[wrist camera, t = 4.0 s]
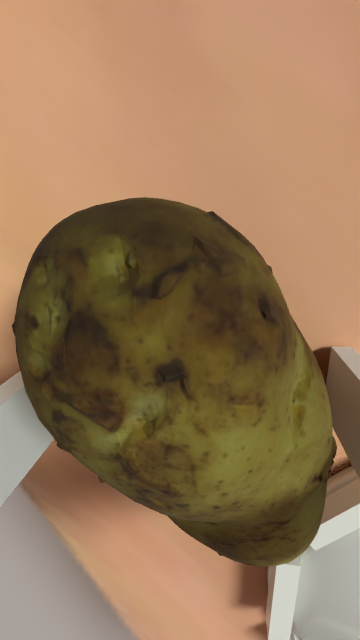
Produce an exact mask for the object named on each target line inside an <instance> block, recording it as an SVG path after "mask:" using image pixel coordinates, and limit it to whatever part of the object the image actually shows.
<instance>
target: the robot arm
mask: <svg viewBox="0 0 360 640" xmlns="http://www.w3.org/2000/svg"><path fill="white" fill-rule="evenodd" d="M326 388H327V393H328V398H329V403H330V409H331V416H332V427H333V429H334V431H335V433H336V435H337V437H338V438H339V440H340V442H341V444H342V446H343V448H344V450H345V452H346V454H347V456H348V458H349V460H350V462H351V464H352V466H353V468H354V470H355V472H356V474H357V475H358V477H359V479H360V355H359V354H358V353H357V352H356V351H355V350H354V349H353V348H352V347H334V346H331V353H330V360H329V367H328V374H327V381H326ZM53 440H54V438H53V436H52V435H51V434H50V433H49V431H48V430H47V429H46V428H45V427H44V425H43V424H42V423H41V422H40V420H39V419H38V417H37V415H36V412H35V410H34V408H33V406H32V404H31V402H30V400H29V398H28V396H27V394H26V391H25V387H24V383H23V379H22V375H21V371H19V372H18V373H17V374H15V375H14V376H12V377H11V378H10V379H8V380H7V381H6V382H4V383H3V384H1V385H0V507H1V506H2V505H3V503H4V502H5V501H6V500H7V498H8V497H9V495H11V493H12V492H13V491H14V489H15V488H16V487H17V486H18V484H19V483H20V482H21V481H22V479H23V478H24V477H25V475H26V474H27V473H28V472H29V470H30V469H31V468H32V467H33V465H34V464H35V463H36V461H37V460H38V459H39V458H40V456H41V455H42V454H43V453H44V451H45V450H46V449H47V447H48V446H49V445H50V444H51V442H52V441H53Z"/></svg>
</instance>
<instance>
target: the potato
mask: <svg viewBox="0 0 360 640" xmlns="http://www.w3.org/2000/svg"><path fill="white" fill-rule="evenodd" d="M12 327H13V332H14V335H15V337H16V353H17V357H18V362H19V366H20V371H21V375H22V379H23V383H24V387H25V391H26V394H27V396H28V398H29V400H30V402H31V404H32V406H33V408H34V410H35V412H36V415H37V417H38V419H39V420H40V422H41V423H42V424H43V425H44V427H45V428H46V429H47V430H48V431H49V433H50V434H51V435H52V436H53V438H54V439H55V440H56V441H57V446H58V447H59V448H61V449H63V450H65V451H67V452H69V453H71V454H72V455H73V456H74V457H75V458H77V459H78V460H79V461H80V462H81V463H82V464H84V465H85V466H86V467H87V468H89V469H90V470H91V471H93V472H94V473H96V474H97V475H98V478H99V480H100V481H101V483H103V482H105V481H106V482H107V483H108V484H109V485H111V486H112V487H114V488H115V489H117V490H118V491H120V492H121V493H123V494H124V495H126V496H127V497H129V498H130V499H132V500H133V501H135V502H137V503H140V504H142V505H144V506H146V507H148V508H150V509H152V510H155V511H157V512H159V513H161V514H164V515H167V516H168V517H169V518H170V519H171V520H172V521H173V522H174V523H175V524H176V525H177V526H178V527H179V528H181V529H182V530H183V531H184V532H186V533H187V534H188V535H190V536H192V537H193V538H195V539H196V540H198V541H199V542H201V543H202V544H204V545H206V546H207V547H209V548H211V549H213V550H214V551H216V552H217V553H218V554H219V555H221V556H225V557H227V558H229V559H231V560H234V561H237V562H240V563H244V564H248V565H253V566H260V567H269V566H278V565H282V564H286V563H289V562H291V561H293V560H294V559H296V558H297V557H298V556H299V555H301V554H302V553H303V552H304V551H305V550H307V548H308V547H309V546H310V544H311V543H312V541H313V540H314V538H315V536H316V535H317V532H318V530H319V527H320V524H321V520H322V516H323V511H324V506H325V500H326V492H327V480H328V473H330V472H331V471H330V468H331V467H332V465H333V463H334V461H333V458H335V455H336V449H337V446H336V442H335V439H334V437H333V436H332V416H331V409H330V403H329V398H328V393H327V388H326V385H325V382H324V379H323V376H322V373H321V370H320V367H319V365H318V363H317V360H316V358H315V356H314V354H313V352H312V350H311V349H310V347H309V345H308V344H307V342H306V340H305V339H304V337H303V335H302V333H301V332H300V330H299V328H298V327H297V325H296V323H295V322H294V320H293V318H292V316H291V315H290V313H289V310H288V307H287V304H286V302H285V299H284V297H283V295H282V292H281V290H280V287H279V285H278V283H277V281H276V280H275V278H274V276H273V273H272V269H271V267H270V266H268V265H267V264H266V262H265V260H264V259H263V257H262V256H261V255H260V253H259V252H258V251H257V249H256V248H255V247H254V245H253V244H252V243H250V242H249V241H248V240H247V239H246V238H245V237H244V236H243V235H242V234H241V233H240V232H238V231H237V230H236V229H234V228H233V227H232V226H231V225H229V224H228V223H227V222H226V221H224V220H223V219H222V218H221V217H219V216H218V215H217V214H215V213H214V212H213V211H211V212H205V211H203V210H201V209H199V208H196V207H193V206H189V205H186V204H183V203H180V202H175V201H170V200H165V199H157V198H145V197H144V198H130V199H125V200H120V201H115V202H110V203H105V204H100V205H96V206H93V207H90V208H87V209H84V210H81V211H78V212H76V213H74V214H72V215H70V216H69V217H67V218H65V219H63V220H62V221H61V222H59V223H58V224H57V225H55V226H54V227H53V228H52V229H51V230H50V231H49V233H48V234H47V235H46V236H45V237H44V238H43V239H42V241H41V242H40V243H39V245H38V246H37V248H36V250H35V252H34V253H33V255H32V258H31V260H30V262H29V264H28V267H27V271H26V274H25V277H24V280H23V283H22V287H21V290H20V294H19V298H18V303H17V309H16V315H15V321H14V323H13V325H12Z"/></svg>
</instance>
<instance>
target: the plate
mask: <svg viewBox="0 0 360 640" xmlns="http://www.w3.org/2000/svg"><path fill="white" fill-rule="evenodd" d="M267 581H268V598H267V607H266V626H267V636H268V640H360V479H359V477H358V475H357V474H356V472H355V470H354V468H353V466H350V467H348V468H346V469H344V470H342V471H340V472H338V473H336V474H334V475H333V476H331V477H330V478H328V480H327V492H326V500H325V506H324V511H323V516H322V520H321V524H320V527H319V530H318V532H317V535H316V536H315V538H314V540H313V541H312V543H311V544H310V546H309V547H308V548H307V550H305V551H304V552H303V553H302V554H301V555H299V556H298V557H297V558H296V559H294V560H293V561H291V562H289V563H286V564H282V565H278V566H269V567H267Z"/></svg>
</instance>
